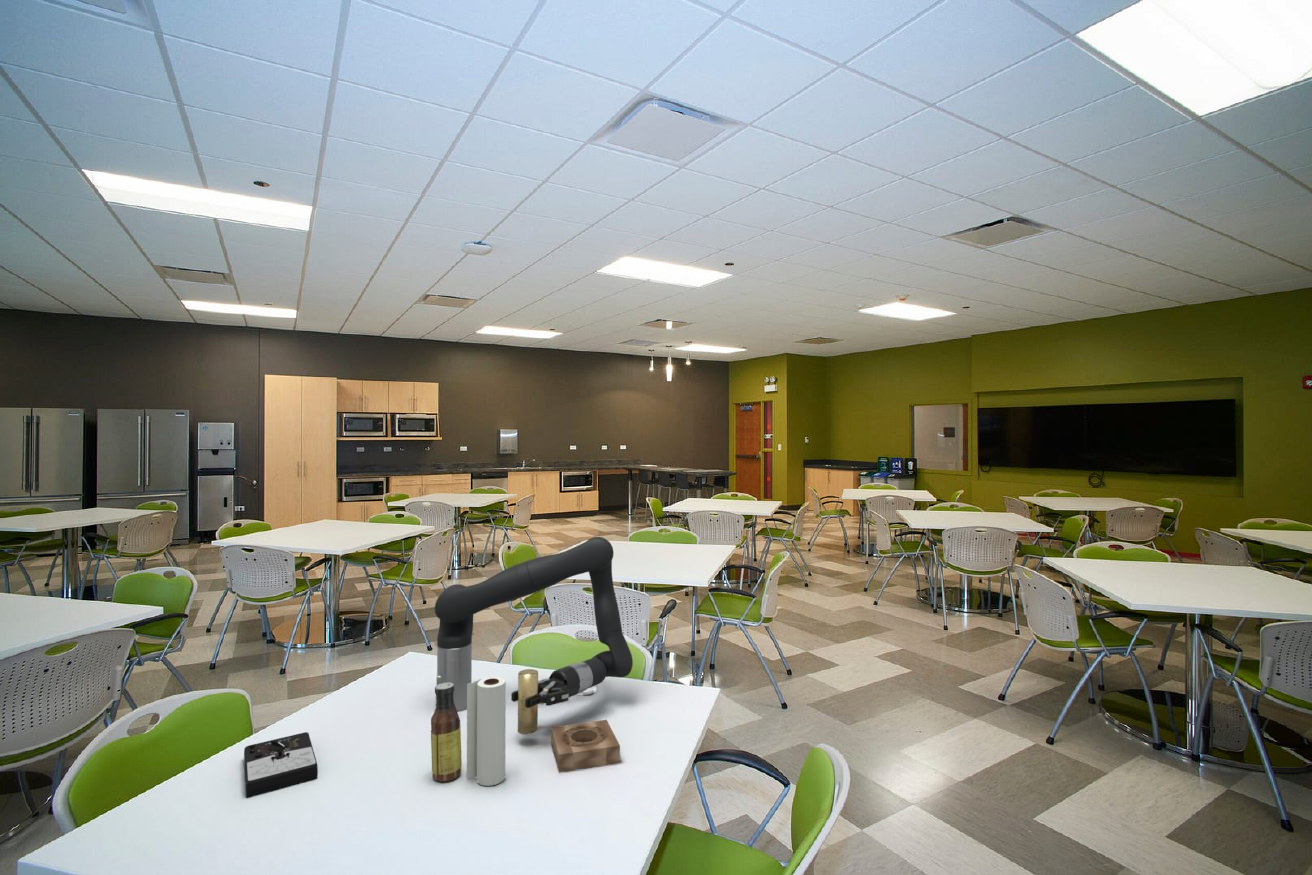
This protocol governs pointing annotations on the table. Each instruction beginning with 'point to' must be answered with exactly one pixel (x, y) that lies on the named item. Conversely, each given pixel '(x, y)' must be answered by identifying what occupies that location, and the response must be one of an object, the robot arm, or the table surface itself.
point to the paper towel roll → (486, 730)
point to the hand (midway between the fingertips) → (519, 700)
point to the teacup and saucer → (588, 691)
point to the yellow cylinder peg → (525, 690)
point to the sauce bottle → (445, 735)
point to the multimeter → (279, 764)
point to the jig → (584, 745)
